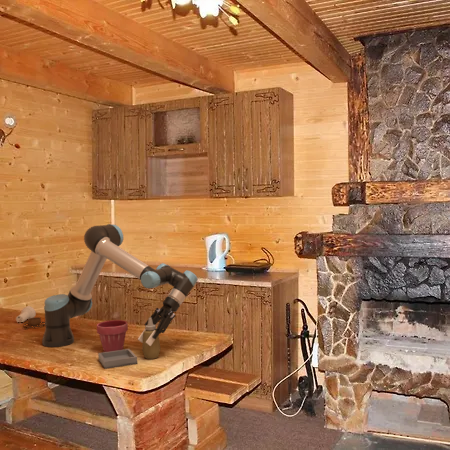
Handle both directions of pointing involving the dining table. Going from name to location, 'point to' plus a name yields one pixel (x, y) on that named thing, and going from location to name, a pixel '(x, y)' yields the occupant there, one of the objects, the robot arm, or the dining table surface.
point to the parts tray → (117, 358)
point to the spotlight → (26, 314)
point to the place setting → (34, 322)
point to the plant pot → (112, 334)
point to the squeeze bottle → (154, 349)
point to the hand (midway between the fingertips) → (144, 342)
